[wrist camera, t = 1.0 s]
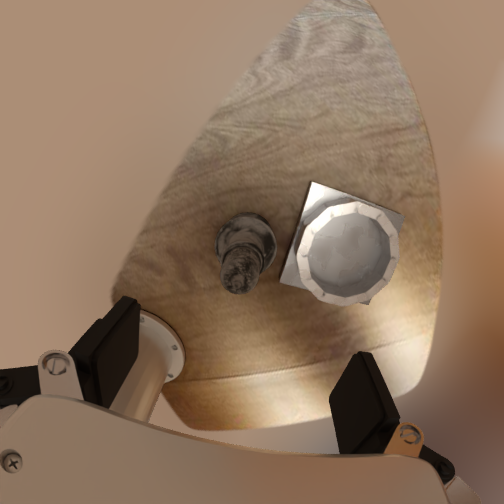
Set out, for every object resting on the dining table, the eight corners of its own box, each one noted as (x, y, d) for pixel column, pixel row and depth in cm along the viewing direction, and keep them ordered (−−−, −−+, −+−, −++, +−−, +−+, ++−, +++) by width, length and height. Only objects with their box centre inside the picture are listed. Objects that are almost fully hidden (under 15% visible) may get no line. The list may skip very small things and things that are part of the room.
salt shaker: (208, 237, 30) (176, 285, 19) (247, 197, 29) (234, 225, 17) (248, 273, 31) (239, 338, 20) (287, 237, 30) (300, 287, 18)
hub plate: (365, 300, 32) (374, 316, 28) (278, 277, 31) (280, 292, 28) (400, 214, 28) (415, 221, 25) (310, 181, 28) (316, 184, 24)
